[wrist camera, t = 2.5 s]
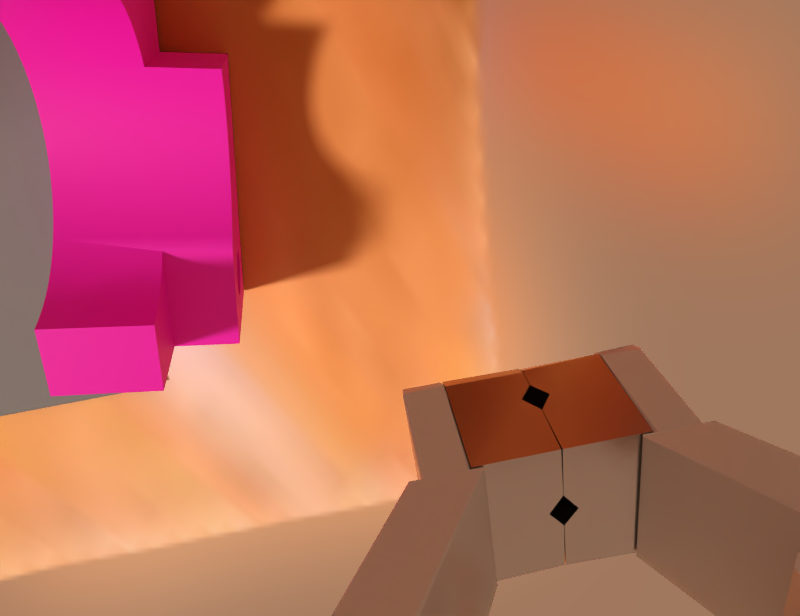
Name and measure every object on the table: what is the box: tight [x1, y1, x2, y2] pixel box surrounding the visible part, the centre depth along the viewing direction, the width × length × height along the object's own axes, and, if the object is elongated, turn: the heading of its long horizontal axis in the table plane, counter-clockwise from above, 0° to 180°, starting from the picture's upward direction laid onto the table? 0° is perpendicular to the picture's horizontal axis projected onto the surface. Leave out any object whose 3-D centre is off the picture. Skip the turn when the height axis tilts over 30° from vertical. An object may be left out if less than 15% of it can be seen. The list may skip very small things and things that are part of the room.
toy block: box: [0, 0, 244, 396], centre depth 23 cm, size 15×6×8 cm, turn 177°
